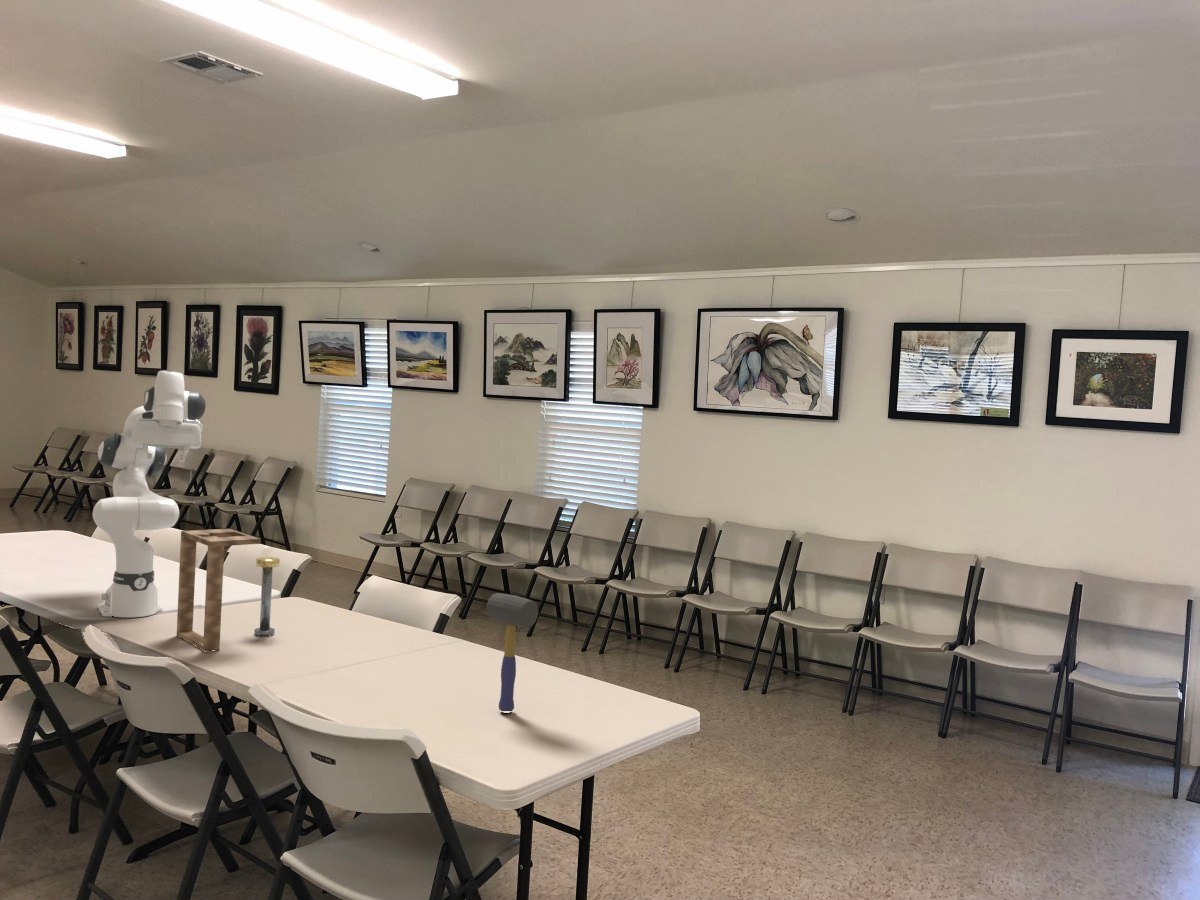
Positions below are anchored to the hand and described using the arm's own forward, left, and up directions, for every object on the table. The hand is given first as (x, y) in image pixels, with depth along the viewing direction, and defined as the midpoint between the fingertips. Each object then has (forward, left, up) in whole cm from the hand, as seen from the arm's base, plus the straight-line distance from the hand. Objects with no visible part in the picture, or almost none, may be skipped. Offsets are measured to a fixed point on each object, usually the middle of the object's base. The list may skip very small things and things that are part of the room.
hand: (165, 460), depth 296 cm
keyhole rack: (+24, +8, -53) cm, 59 cm away
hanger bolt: (+24, +24, -53) cm, 63 cm away
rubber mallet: (+125, +40, -53) cm, 142 cm away
